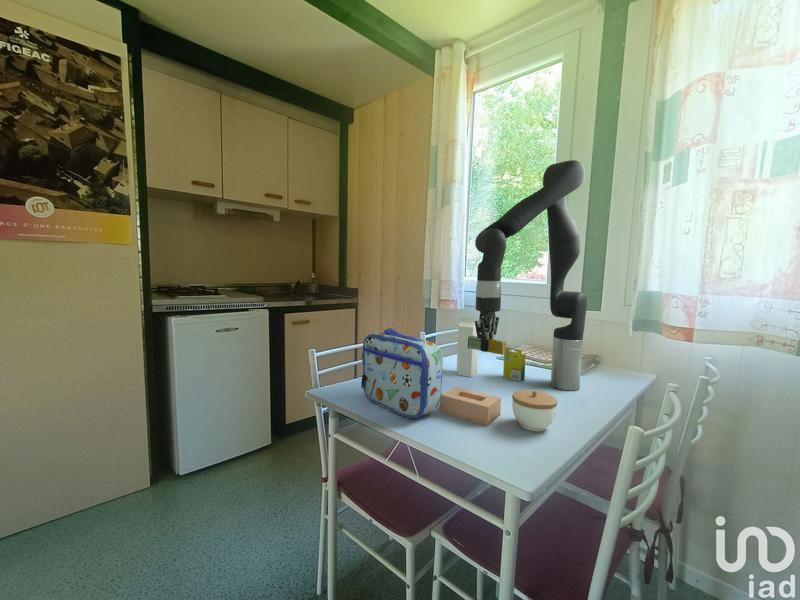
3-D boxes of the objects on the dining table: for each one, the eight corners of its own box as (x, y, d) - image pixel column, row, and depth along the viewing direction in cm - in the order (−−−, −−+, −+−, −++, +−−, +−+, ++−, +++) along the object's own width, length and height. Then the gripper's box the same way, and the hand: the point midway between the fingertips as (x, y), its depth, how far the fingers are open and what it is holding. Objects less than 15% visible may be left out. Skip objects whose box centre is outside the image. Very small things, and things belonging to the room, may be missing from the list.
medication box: (466, 348, 113) (467, 336, 112) (471, 347, 115) (471, 335, 114) (502, 355, 105) (502, 342, 104) (506, 353, 107) (506, 340, 107)
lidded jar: (503, 425, 90) (504, 390, 90) (522, 414, 98) (524, 381, 97) (544, 440, 83) (546, 401, 82) (562, 426, 90) (564, 391, 89)
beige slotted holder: (454, 402, 105) (455, 386, 105) (500, 414, 97) (501, 397, 96) (439, 412, 98) (440, 394, 97) (487, 426, 90) (488, 407, 89)
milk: (463, 371, 139) (465, 316, 137) (477, 374, 135) (479, 317, 134) (456, 374, 134) (458, 317, 132) (471, 377, 130) (473, 319, 129)
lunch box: (353, 398, 107) (354, 327, 106) (379, 390, 115) (380, 323, 113) (420, 428, 88) (422, 341, 86) (445, 416, 95) (448, 336, 93)
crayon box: (524, 380, 128) (526, 349, 127) (520, 382, 126) (522, 350, 125) (507, 375, 134) (508, 345, 133) (502, 377, 132) (504, 346, 131)
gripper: (485, 293, 116) (484, 344, 117) (467, 296, 105) (465, 352, 106) (508, 294, 111) (506, 348, 113) (491, 297, 100) (489, 356, 102)
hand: (486, 350), depth 110 cm, fingers closed on medication box, 3 cm apart
